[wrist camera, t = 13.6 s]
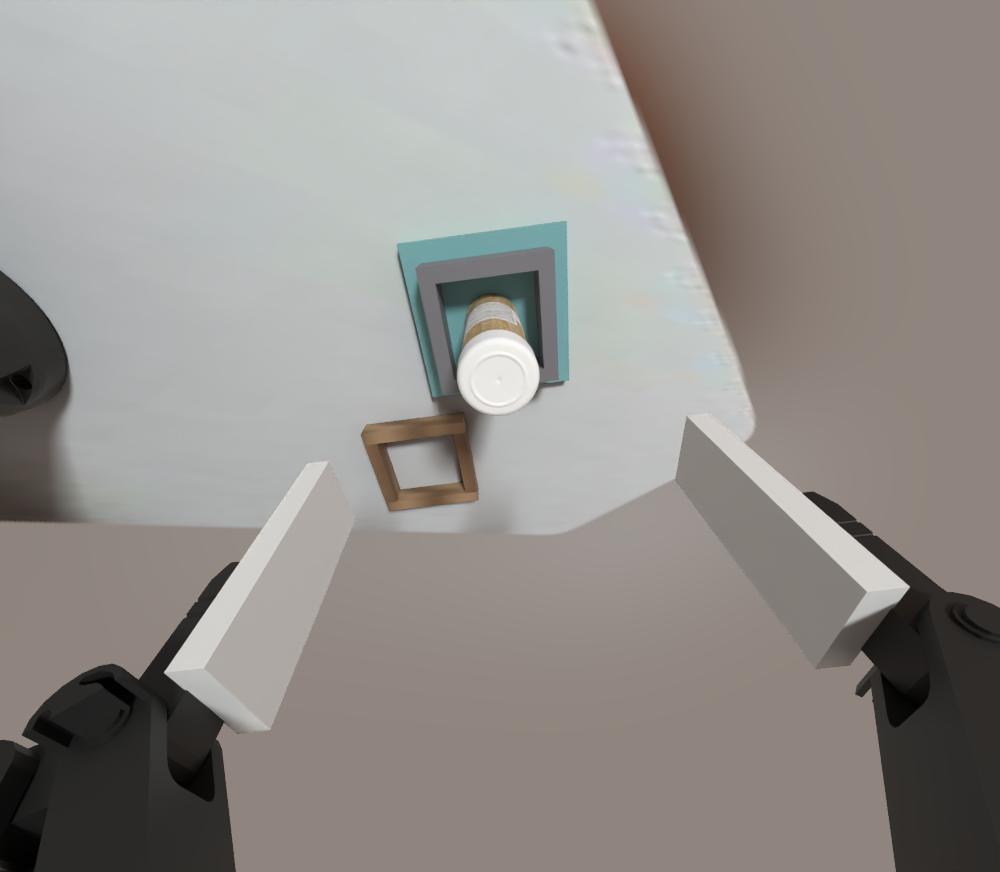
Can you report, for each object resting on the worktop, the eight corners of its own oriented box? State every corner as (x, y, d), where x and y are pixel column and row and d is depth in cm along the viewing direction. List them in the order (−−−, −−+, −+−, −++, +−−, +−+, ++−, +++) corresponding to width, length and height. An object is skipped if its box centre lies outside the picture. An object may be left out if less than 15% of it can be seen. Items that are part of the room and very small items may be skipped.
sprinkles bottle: (512, 349, 32) (531, 423, 21) (461, 341, 32) (451, 413, 20) (523, 296, 30) (549, 346, 19) (468, 286, 29) (461, 332, 18)
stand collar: (392, 498, 42) (389, 510, 40) (366, 424, 37) (360, 435, 35) (478, 488, 42) (478, 500, 40) (463, 412, 37) (463, 422, 35)
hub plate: (434, 393, 35) (429, 412, 32) (399, 243, 28) (388, 247, 25) (566, 376, 35) (576, 393, 32) (563, 221, 28) (575, 222, 25)
